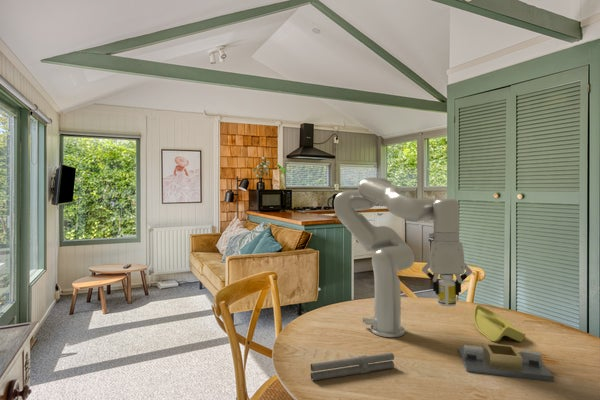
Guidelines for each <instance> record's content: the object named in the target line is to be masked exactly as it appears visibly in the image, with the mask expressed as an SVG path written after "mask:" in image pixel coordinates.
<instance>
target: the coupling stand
mask: <svg viewBox="0 0 600 400" xmlns="http://www.w3.org/2000/svg"><path fill="white" fill-rule="evenodd" d="M458 352H459V353H458V354H459V356H460V358H461V361H462V363H463V366H464V368H465V371H466V372H467V373H474V374H475V373H476V374H477V373H478V374H486V375H494V376H495V375H496V376H503V377H510V378H518V379H527V380H536V381H544V382H554V380H555V379H554V377H555V376H554V374H552V372H551V371H550V370H549V368H547V367H546V366H545V364H544V363H543V361H542V360H543V359H542V356H543V355H542V352H541V351H540V352H538V351H536V350H535V351H533V350H529V349H523V348H520V351H518V350H517V349H516V347H515V346H514V345H510V344H499V343H489V342H483V345H482V346H478V345H467V344H463V346H459V345H458Z"/></svg>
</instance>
